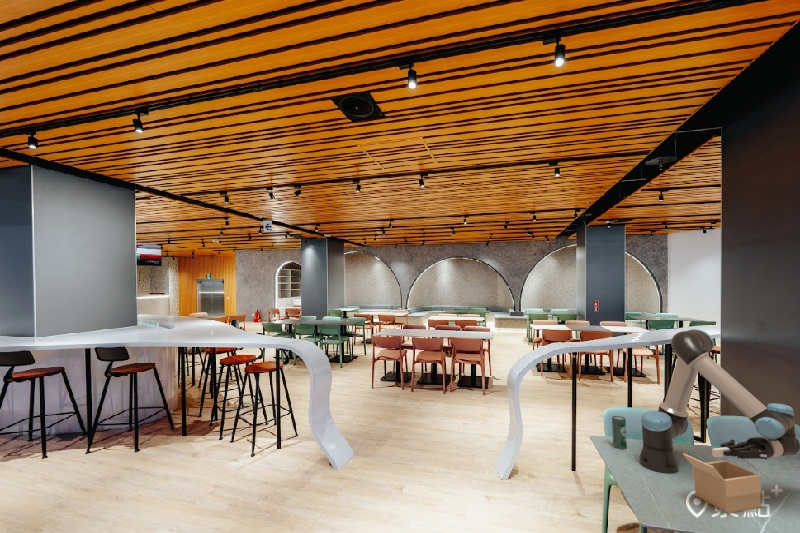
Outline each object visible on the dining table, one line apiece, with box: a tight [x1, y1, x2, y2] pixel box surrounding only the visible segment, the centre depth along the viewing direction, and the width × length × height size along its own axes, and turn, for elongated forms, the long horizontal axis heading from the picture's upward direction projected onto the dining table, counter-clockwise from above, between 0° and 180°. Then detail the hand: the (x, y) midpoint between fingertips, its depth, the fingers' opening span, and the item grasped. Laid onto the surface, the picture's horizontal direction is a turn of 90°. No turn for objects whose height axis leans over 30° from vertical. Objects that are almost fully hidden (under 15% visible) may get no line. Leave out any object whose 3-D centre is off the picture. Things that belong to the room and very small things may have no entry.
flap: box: [682, 452, 724, 481], centre depth 145 cm, size 7×12×1 cm
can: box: [611, 415, 628, 451], centre depth 198 cm, size 6×6×15 cm
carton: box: [692, 460, 762, 514], centre depth 147 cm, size 16×13×12 cm
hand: (714, 453), depth 145 cm, fingers closed
